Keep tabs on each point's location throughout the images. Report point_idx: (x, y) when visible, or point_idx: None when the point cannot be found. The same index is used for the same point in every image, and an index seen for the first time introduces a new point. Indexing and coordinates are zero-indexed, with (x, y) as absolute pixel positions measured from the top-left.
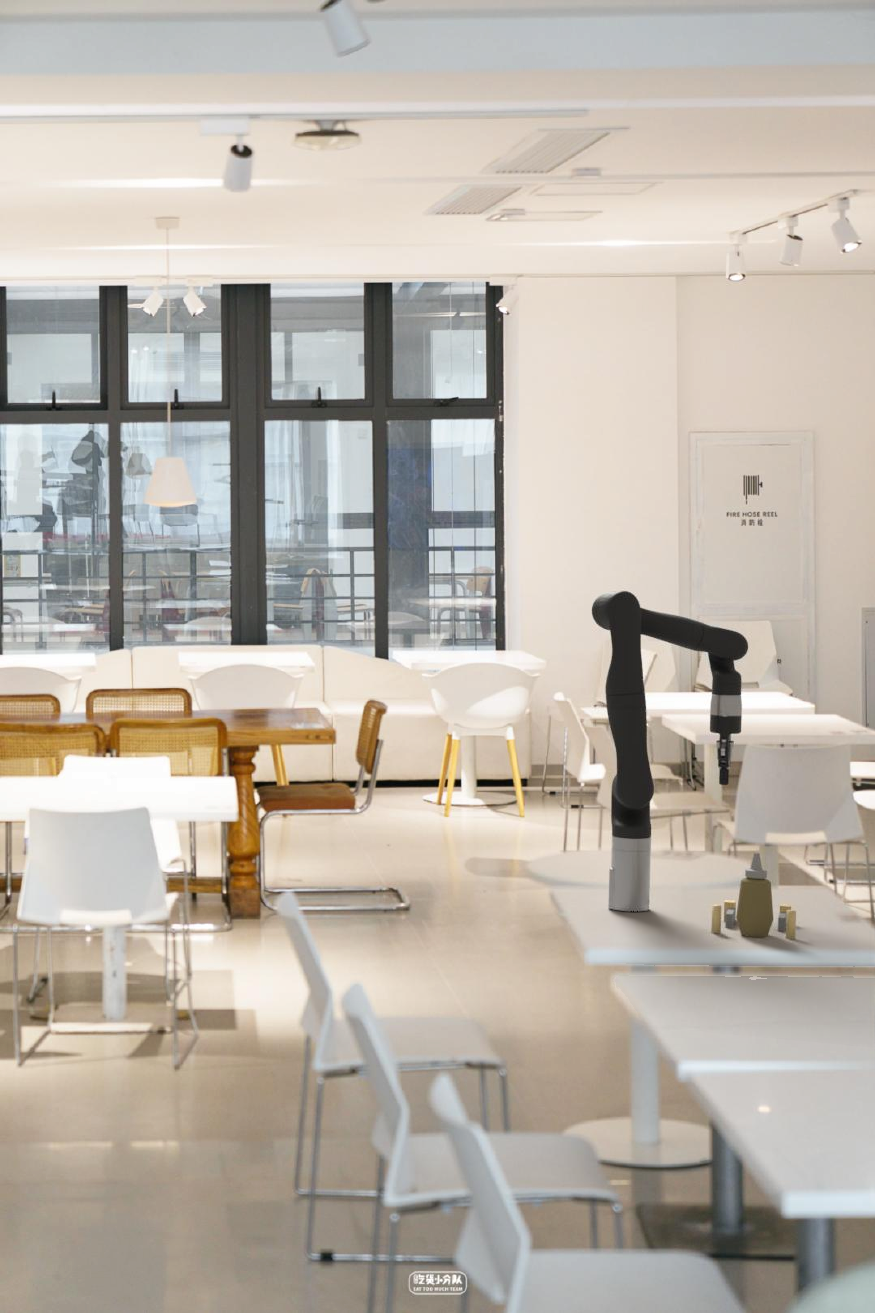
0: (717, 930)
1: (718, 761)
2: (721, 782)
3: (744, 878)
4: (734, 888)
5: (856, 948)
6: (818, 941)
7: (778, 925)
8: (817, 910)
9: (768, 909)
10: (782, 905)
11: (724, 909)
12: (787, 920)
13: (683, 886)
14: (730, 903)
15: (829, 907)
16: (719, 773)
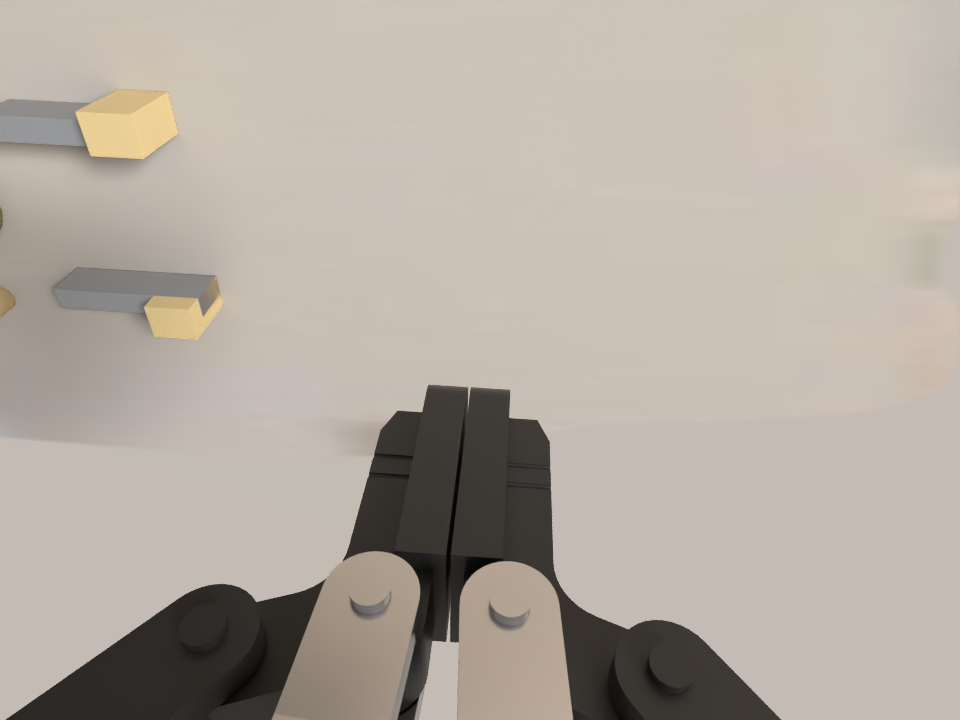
0: None
1: (32, 706)
2: (395, 420)
3: None
4: (927, 114)
5: (10, 425)
6: (22, 358)
7: (67, 277)
8: (490, 380)
9: None
10: (157, 314)
11: (92, 104)
12: None
13: None
14: (86, 136)
15: (554, 411)
16: (404, 494)
